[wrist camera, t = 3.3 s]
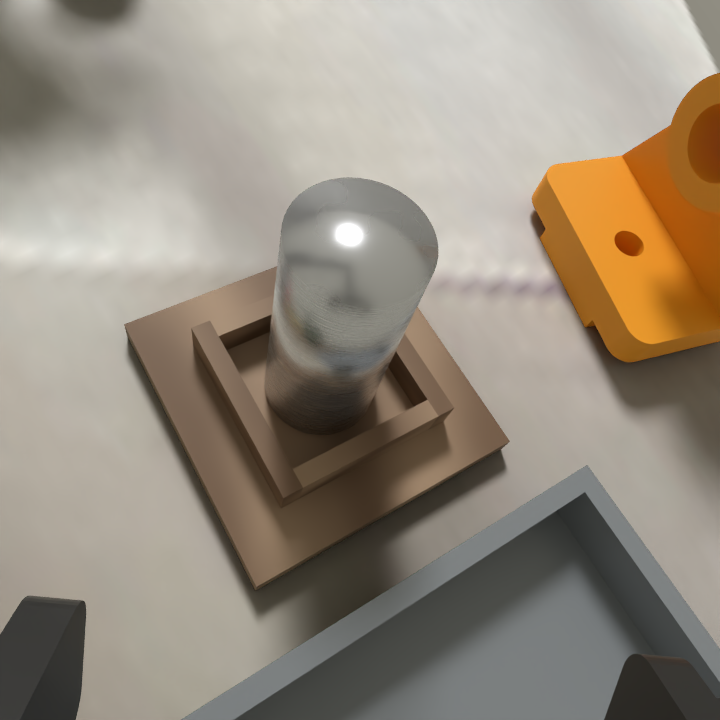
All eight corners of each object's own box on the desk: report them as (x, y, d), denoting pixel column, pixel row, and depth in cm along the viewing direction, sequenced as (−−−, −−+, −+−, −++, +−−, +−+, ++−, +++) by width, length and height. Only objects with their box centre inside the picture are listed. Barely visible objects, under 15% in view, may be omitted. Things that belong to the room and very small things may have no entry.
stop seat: (255, 590, 25) (258, 580, 22) (127, 336, 28) (119, 305, 26) (501, 449, 29) (523, 429, 27) (362, 244, 33) (372, 212, 30)
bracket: (519, 200, 36) (639, -4, 26) (628, 185, 38) (780, -10, 28) (607, 373, 32) (793, 214, 21) (723, 345, 34) (945, 187, 23)
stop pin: (297, 454, 26) (332, 332, 17) (245, 361, 28) (252, 205, 19) (393, 406, 28) (468, 272, 19) (338, 320, 29) (385, 160, 21)
